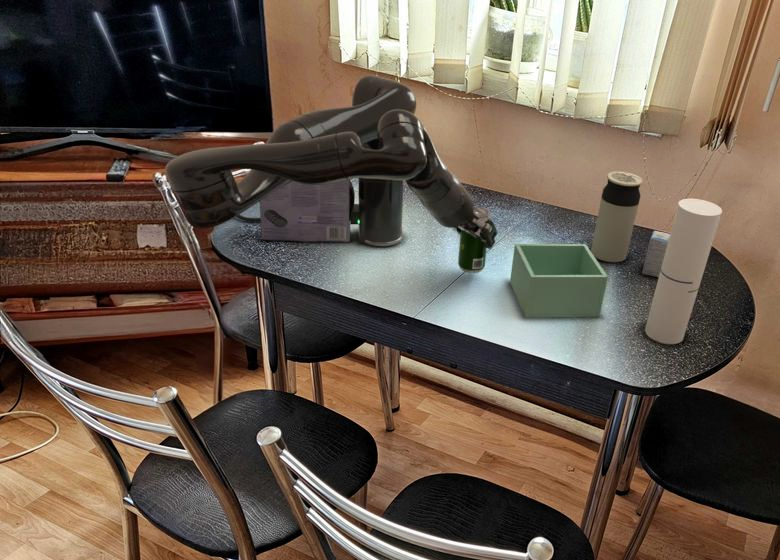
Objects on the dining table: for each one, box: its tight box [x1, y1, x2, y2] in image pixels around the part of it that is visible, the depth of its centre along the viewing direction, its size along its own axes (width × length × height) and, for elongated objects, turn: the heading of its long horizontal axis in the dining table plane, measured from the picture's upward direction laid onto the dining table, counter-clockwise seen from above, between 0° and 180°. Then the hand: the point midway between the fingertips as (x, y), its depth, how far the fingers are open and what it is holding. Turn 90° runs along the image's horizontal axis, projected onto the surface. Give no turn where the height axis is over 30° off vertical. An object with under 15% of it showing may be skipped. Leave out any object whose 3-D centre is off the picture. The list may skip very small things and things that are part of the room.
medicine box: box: [641, 230, 670, 278], centre depth 145 cm, size 8×4×9 cm, turn 71°
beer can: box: [457, 205, 491, 274], centre depth 133 cm, size 5×5×12 cm
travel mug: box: [590, 171, 644, 263], centre depth 147 cm, size 8×8×18 cm
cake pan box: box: [258, 179, 356, 243], centre depth 141 cm, size 19×5×18 cm, turn 100°
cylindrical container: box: [644, 198, 723, 345], centre depth 120 cm, size 7×7×25 cm
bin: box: [509, 243, 609, 319], centre depth 131 cm, size 15×14×9 cm
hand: (479, 239), depth 135 cm, fingers closed on beer can, 5 cm apart
